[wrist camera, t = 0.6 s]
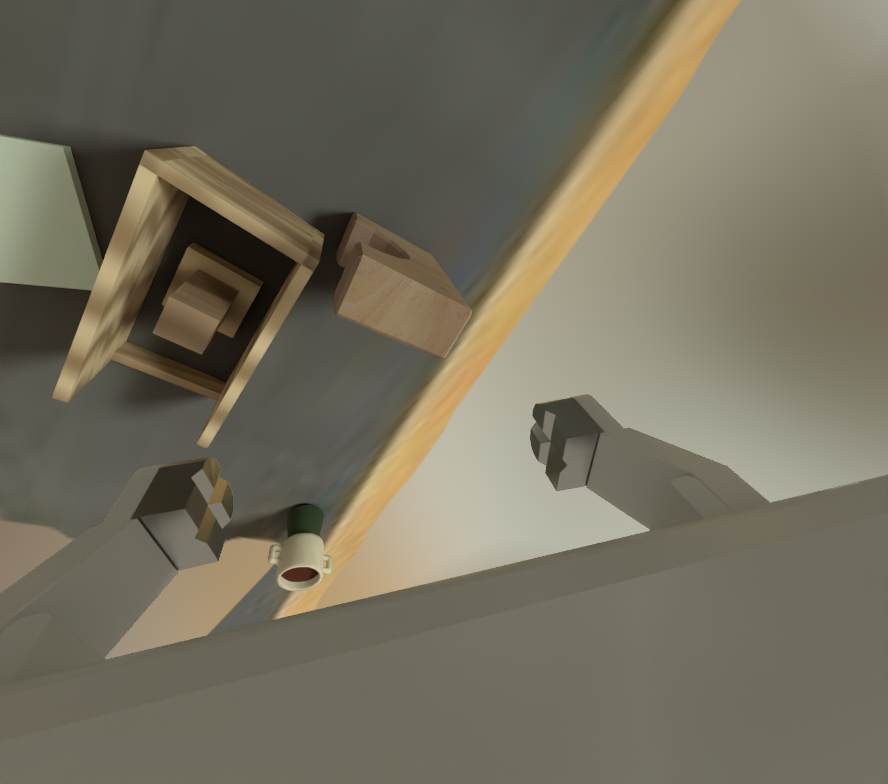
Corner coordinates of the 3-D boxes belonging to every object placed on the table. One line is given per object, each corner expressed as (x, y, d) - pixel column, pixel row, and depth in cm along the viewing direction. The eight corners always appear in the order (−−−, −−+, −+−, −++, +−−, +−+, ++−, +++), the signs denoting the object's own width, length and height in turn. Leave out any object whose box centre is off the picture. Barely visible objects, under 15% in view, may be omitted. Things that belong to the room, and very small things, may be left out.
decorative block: (334, 252, 47) (330, 314, 31) (354, 208, 45) (360, 250, 29) (412, 292, 52) (443, 363, 36) (433, 254, 50) (476, 312, 33)
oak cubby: (194, 145, 38) (144, 149, 29) (324, 234, 45) (319, 261, 36) (111, 343, 47) (51, 397, 37) (231, 392, 54) (207, 448, 44)
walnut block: (198, 268, 43) (169, 296, 36) (239, 290, 45) (219, 320, 38) (183, 300, 44) (152, 333, 37) (223, 320, 47) (201, 354, 39)
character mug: (269, 518, 70) (255, 586, 59) (286, 493, 67) (275, 559, 57) (324, 531, 75) (320, 595, 64) (341, 508, 72) (341, 572, 62)
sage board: (-131, 111, 33) (-145, 110, 32) (70, 146, 36) (62, 146, 35) (-50, 273, 40) (-59, 276, 39) (110, 288, 44) (105, 291, 43)
